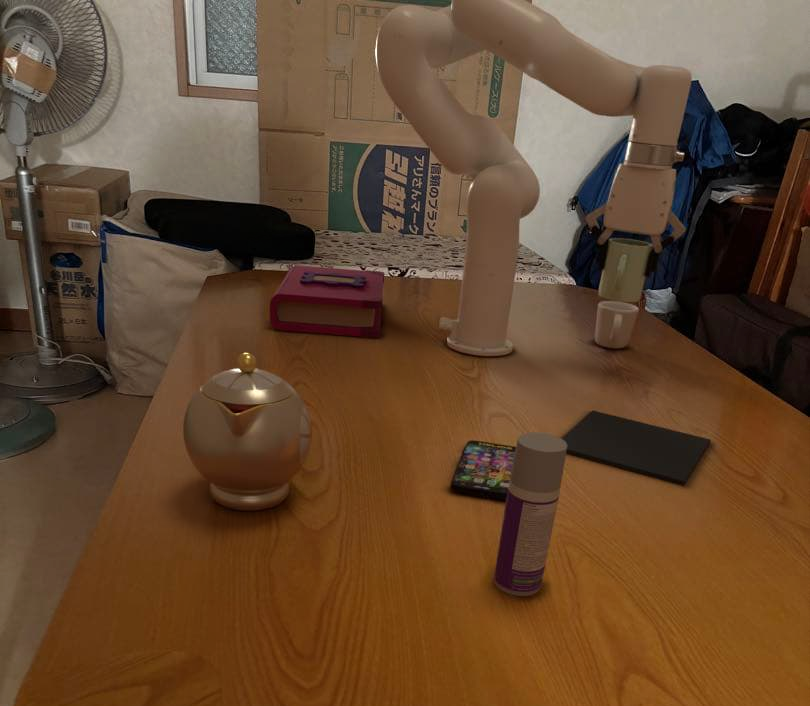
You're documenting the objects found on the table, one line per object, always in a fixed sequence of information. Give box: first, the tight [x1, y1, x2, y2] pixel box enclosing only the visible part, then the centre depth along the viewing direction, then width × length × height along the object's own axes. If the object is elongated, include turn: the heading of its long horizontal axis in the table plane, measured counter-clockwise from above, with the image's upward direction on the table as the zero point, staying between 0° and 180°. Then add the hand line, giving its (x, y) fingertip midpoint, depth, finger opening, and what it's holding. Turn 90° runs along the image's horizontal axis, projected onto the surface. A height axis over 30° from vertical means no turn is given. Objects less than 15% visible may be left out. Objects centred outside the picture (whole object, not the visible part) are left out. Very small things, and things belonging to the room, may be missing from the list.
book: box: [269, 264, 385, 339], centre depth 158 cm, size 21×28×8 cm
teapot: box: [182, 352, 313, 512], centre depth 85 cm, size 18×14×16 cm
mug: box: [597, 237, 653, 303], centre depth 130 cm, size 10×7×9 cm
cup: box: [594, 300, 640, 350], centre depth 154 cm, size 11×8×8 cm
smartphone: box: [450, 439, 516, 501], centre depth 98 cm, size 8×1×15 cm
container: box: [493, 431, 567, 597], centre depth 72 cm, size 5×5×15 cm
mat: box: [561, 410, 712, 486], centre depth 110 cm, size 18×18×1 cm
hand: (624, 271), depth 132 cm, fingers closed on mug, 7 cm apart
